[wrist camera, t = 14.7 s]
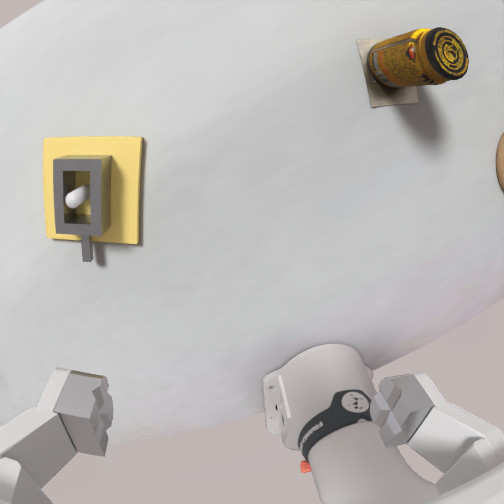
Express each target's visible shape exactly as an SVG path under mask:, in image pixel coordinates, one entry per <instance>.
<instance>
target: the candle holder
mask: <svg viewBox="0 0 504 504" xmlns="http://www.w3.org/2000/svg"><path fill="white" fill-rule="evenodd" d="M496 169H497V176H498V180H499V183H500V185H501V187H502V189H503V190H504V133H503V135H502V137H501V139H500V141H499V145H498V149H497V156H496Z"/></svg>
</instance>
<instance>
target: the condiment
mask: <svg viewBox="0 0 504 504" xmlns="http://www.w3.org/2000/svg"><path fill="white" fill-rule="evenodd" d="M357 44H358V48H359V53H360V56H361V61H362V65H363V70H364V74H365V77H366V82H367V87H368V92H369V96H370V101H371V106H372V107H376V106H385V105H396V104H408V103H419V99H418V93H417V87H416V86H422V85H438V84H443V83H445V82H446V81H450V80H457V79H460V78H462V77H463V76H464V75H465V74H466V72H467V68H468V63H469V60H468V54H467V50H466V47H465V45H464V44H463V42H462V40H461V39H460V37H458V36H457V35H456V34H455V33H454V32H453V31H451V30H449V29H446V28H441V27H440V28H434V29H427V28H426V29H425V28H422V29H417V30H413V31H411V32H408V33H405V34H402V35H399V36H395V37H393V38H390V39H359V40H357ZM374 81H375V82H374ZM402 87H403V90H402Z"/></svg>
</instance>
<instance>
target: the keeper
mask: <svg viewBox="0 0 504 504" xmlns="http://www.w3.org/2000/svg"><path fill="white" fill-rule="evenodd" d="M142 141H143V137H124V136H89V137H55V138H44V143H43V186H44V208H45V222H46V234H47V238H54V239H68V240H81V235H71V234H56V228H55V214H54V193H53V159H55V158H59V157H62V156H65V155H112V163H111V226H110V228H109V229H108V230H107V231H106V232H105V233H104V234H103V236H92V241H97V242H112V243H127V244H138V242H139V198H140V173H141V155H142ZM66 204H67V206H68V207H70V208H76V214H88V215H91V213H90V171H76V190H74V191H72V192H70V193H69V194H68V195H67V196H66Z"/></svg>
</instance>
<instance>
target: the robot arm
mask: <svg viewBox="0 0 504 504" xmlns="http://www.w3.org/2000/svg"><path fill="white" fill-rule="evenodd" d="M372 378H373V372H372V370H371V369H370V368H369V367H368V366H366V365H364V363H363V361H362V358H361V356H360V354H359V353H358V352H357V351H356V350H355V349H354V348H352V347H350V346H347V345H343V344H324V345H320V346H316V347H313V348H310V349H308V350H306V351H304V352H302V353H300V354H298V355H297V356H295V357H294V358H292V359H291V360H290V361H289V362H288V363H287V364H285V365H284V366H283V367H282V368H280V369H278V370H276V371H273V372H271V373H269V374H267V375H266V376H264V378H263V380H262V381H263V395H264V408H265V422H266V429H267V432H268V433H270V434H274V435H278V436H281V437H282V441H283V444H284V446H285V447H287V448H288V449H291V450H297V451H300V452H301V454H302V456H304V458H305V461H301V466H300V467H301V471H302V472H303V473H306V472H310V471H312V474H313V477H314V481H315V484H316V487H317V491H318V494H319V498H320V501H321V502H322V503H323V504H504V434H503V433H502V431H501V430H500V429H499V428H497V427H495V426H493V425H491V424H489V423H488V422H486V421H484V420H482V419H480V418H478V417H476V416H475V415H473V414H471V413H469V412H467V411H465V410H463V409H462V408H460V407H458V406H456V405H454V404H452V403H447V402H446V400H445V399H444V398H443V396H442V395H441V393H440V392H439V391H438V389H437V388H436V387H435V385H434V384H433V382H432V381H431V380H430V378H429V377H428V376H427V374H425V373H423V372H418V373H413V374H406V375H399V376H393V377H387V378H384V379H383V380H382V381H381V383H380V385H379V389H380V391H379V392H378V393H377V392H376V390H375V387H374V385H373V383H372V380H371V379H372ZM108 387H109V385H108V381H107V377H105V376H100V375H95V374H89V373H84V372H78V371H73V370H67V369H62V368H58V367H57V368H56V369H55V370H54V371H53V372H52V374H51V376H50V379H49V381H48V383H47V385H46V387H45V389H44V391H43V394H42V396H41V398H40V400H39V403H38V405H37V407H36V408H35V407H31V408H29V409H28V410H26V411H25V412H23V413H21V414H20V415H18V416H17V417H15V418H14V419H12V420H11V421H9V422H8V423H6V424H4V425H3V426H1V427H0V504H53V503H52V502H51V500H50V499H49V498H48V497H47V496H46V495H45V494H44V493H43V492H42V491H41V488H42V487H43V486H44V485H45V484H46V483H48V481H50V480H51V479H52V478H53V477H54V476H55V475H56V474H57V473H58V472H59V471H60V470H61V469H62V468H63V467H64V466H65V465H66V464H67V463H68V462H69V461H70V460H71V459H72V458H73V457H74V456H75V455H76V454H77V452H80V453H86V454H91V455H97V456H105V452H106V447H107V443H108V436H107V433H106V430H107V429H108V428H110V427H111V424H112V419H113V402H112V397H111V396H110V395H109V394H108V393H107V390H108ZM406 443H408V444H407V445H408V446H410V447H411V448H412V449H413V450H415V451H416V452H417V453H418V454H420V455H421V456H422V457H424V458H425V459H426V460H427V461H429V462H430V463H431V464H432V465H434V466H435V467H436V468H438V469H439V470H440V471H441V472H443V473H444V475H443V476H442V477H441V478H440V479H439V480H438V481H437V483H436V484H434V483H432V482H429V481H427V480H425V479H424V478H422V477H421V476H419V475H418V474H417V473H416V472H414V471H413V470H412V469H411V468H410V466H409V465H408V464H407V462H406V461H405V459H404V458H403V456H402V455H401V453H400V452H399V450H398V449H397V447H396V446H398V445H402V444H406Z"/></svg>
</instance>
